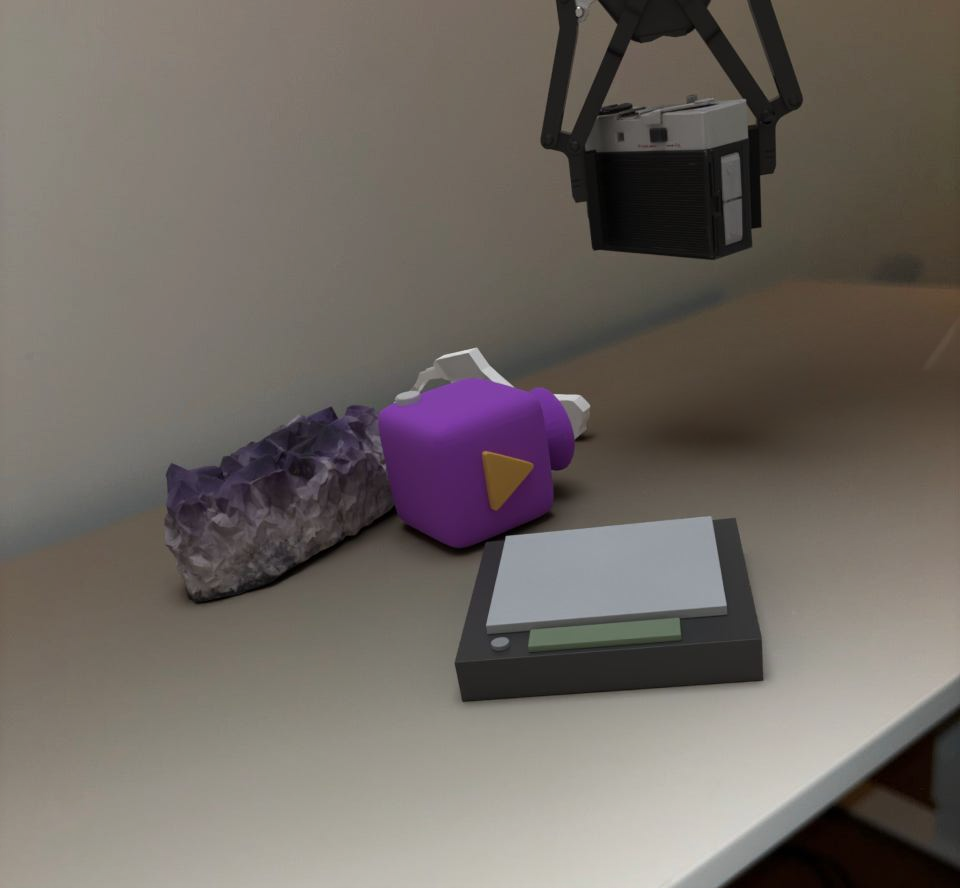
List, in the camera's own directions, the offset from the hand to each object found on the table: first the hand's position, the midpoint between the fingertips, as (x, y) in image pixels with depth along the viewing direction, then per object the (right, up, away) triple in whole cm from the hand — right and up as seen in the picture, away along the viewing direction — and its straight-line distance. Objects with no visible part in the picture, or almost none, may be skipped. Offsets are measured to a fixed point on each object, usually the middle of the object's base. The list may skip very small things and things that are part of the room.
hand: (675, 236), depth 78 cm
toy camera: (-13, -20, +2) cm, 24 cm away
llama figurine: (-13, -11, +17) cm, 25 cm away
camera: (+1, -1, 0) cm, 1 cm away
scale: (-7, -29, -15) cm, 33 cm away
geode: (-28, -23, +3) cm, 36 cm away
